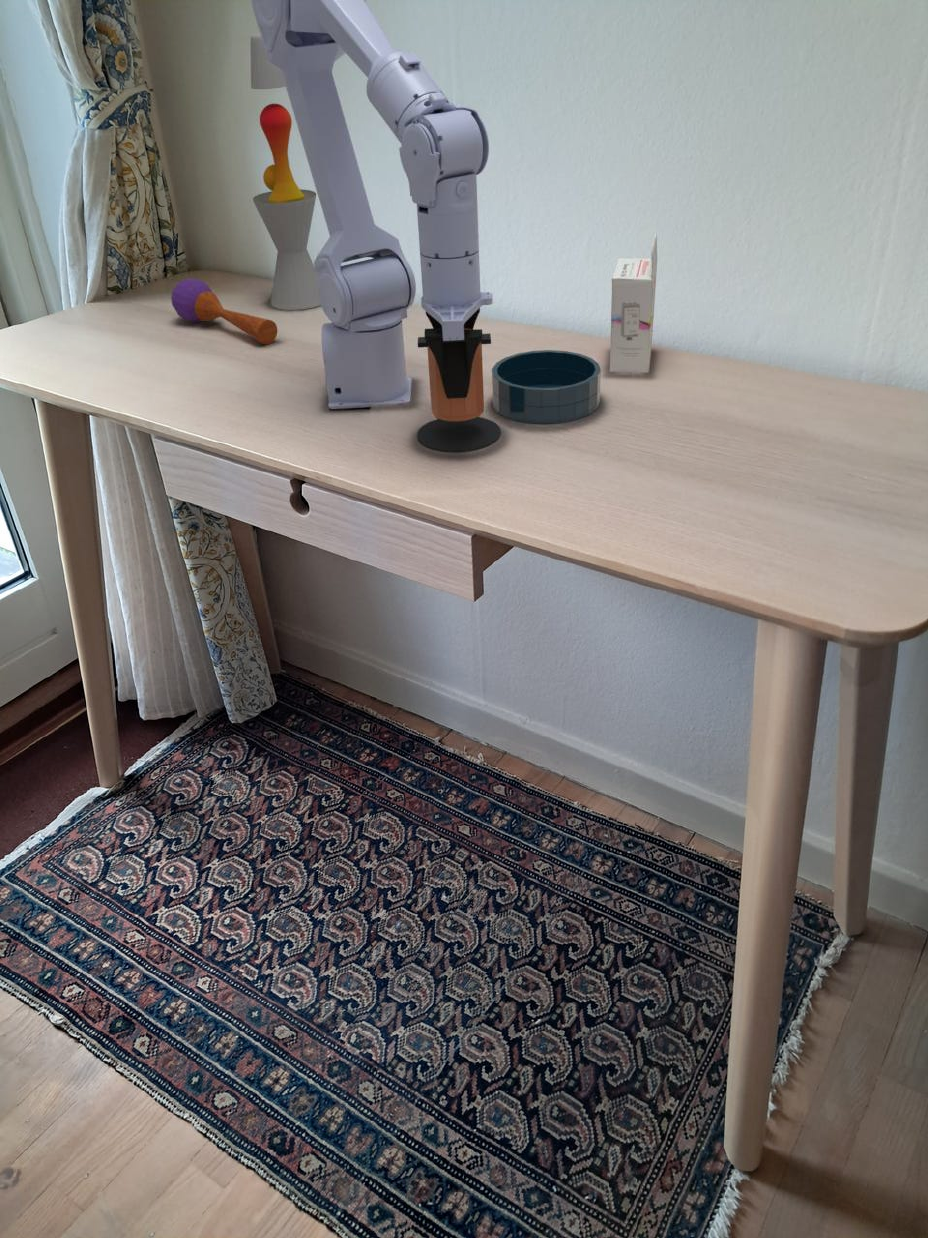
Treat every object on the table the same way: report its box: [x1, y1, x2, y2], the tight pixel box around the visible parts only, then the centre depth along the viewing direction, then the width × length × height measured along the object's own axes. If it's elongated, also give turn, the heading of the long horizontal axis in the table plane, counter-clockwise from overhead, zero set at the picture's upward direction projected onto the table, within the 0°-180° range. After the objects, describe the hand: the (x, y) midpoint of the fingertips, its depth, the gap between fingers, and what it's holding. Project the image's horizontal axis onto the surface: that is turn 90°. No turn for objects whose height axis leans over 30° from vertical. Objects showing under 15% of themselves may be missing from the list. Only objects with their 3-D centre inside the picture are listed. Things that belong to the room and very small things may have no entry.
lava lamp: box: [250, 32, 321, 311], centre depth 139 cm, size 9×9×35 cm
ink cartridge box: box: [609, 232, 658, 374], centre depth 117 cm, size 9×5×15 cm, turn 168°
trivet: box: [416, 416, 502, 454], centre depth 106 cm, size 9×9×1 cm
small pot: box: [417, 328, 492, 421], centre depth 102 cm, size 7×6×8 cm
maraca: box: [170, 278, 278, 346], centre depth 138 cm, size 6×6×20 cm
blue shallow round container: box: [491, 349, 602, 425], centre depth 111 cm, size 12×12×4 cm
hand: (456, 385), depth 102 cm, fingers closed on small pot, 5 cm apart
